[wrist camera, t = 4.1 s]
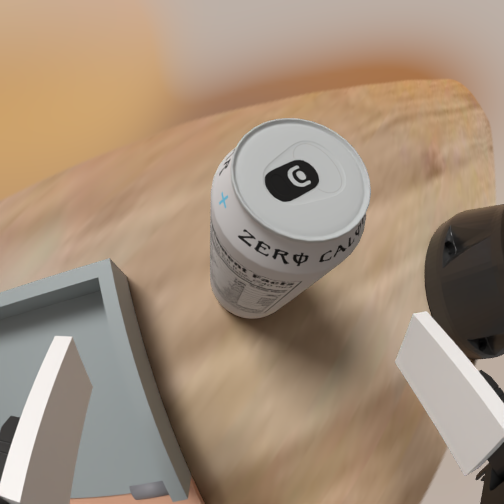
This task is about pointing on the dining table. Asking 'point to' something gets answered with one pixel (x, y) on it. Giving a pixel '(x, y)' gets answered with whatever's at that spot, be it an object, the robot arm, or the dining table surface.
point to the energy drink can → (283, 214)
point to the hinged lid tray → (97, 385)
